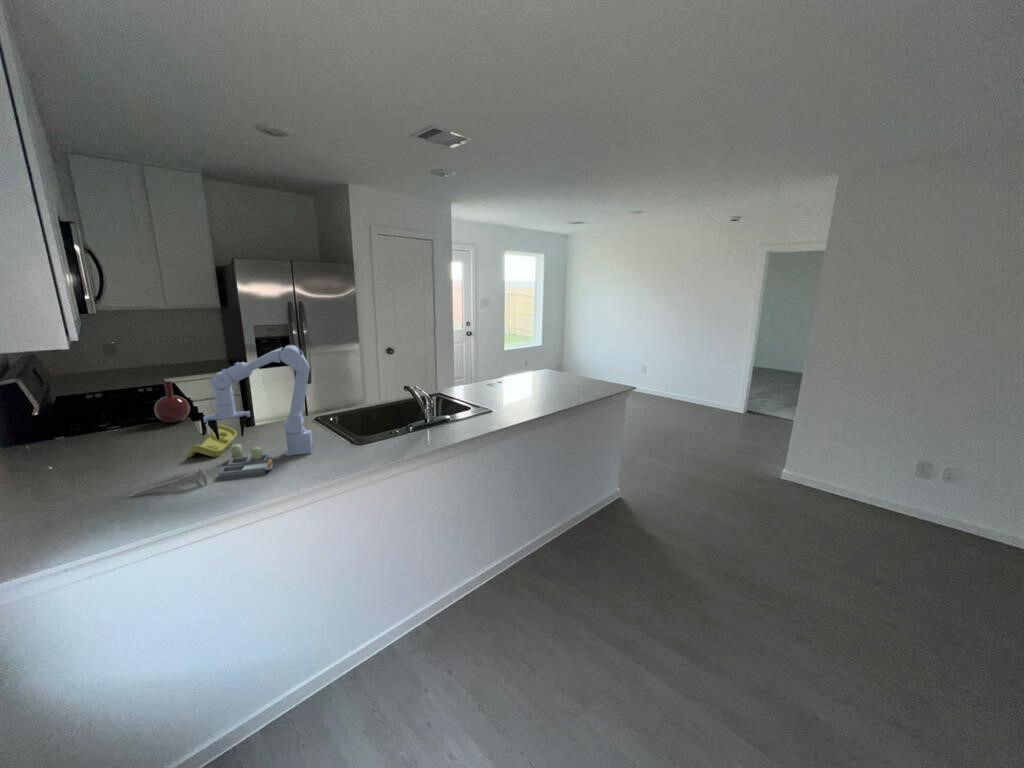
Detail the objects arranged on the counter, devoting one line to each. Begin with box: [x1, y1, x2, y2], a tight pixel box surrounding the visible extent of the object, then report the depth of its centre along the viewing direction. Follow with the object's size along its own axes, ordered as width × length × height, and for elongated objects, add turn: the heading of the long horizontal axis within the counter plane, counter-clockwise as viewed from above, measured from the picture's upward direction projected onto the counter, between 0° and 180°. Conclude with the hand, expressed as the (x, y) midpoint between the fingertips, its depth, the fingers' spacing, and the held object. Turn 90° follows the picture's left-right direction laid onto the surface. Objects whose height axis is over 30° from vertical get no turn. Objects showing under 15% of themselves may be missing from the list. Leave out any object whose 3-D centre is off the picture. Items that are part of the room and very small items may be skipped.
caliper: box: [129, 468, 209, 498], centre depth 132 cm, size 20×1×6 cm, turn 117°
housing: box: [218, 446, 273, 480], centre depth 148 cm, size 14×13×7 cm
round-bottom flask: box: [153, 380, 191, 423], centre depth 192 cm, size 13×13×20 cm
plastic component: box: [187, 424, 238, 458], centre depth 166 cm, size 20×7×10 cm
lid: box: [242, 458, 274, 471], centre depth 146 cm, size 9×4×3 cm, turn 110°
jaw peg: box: [229, 443, 244, 459], centre depth 156 cm, size 4×4×6 cm
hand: (230, 436), depth 155 cm, fingers open, 7 cm apart
